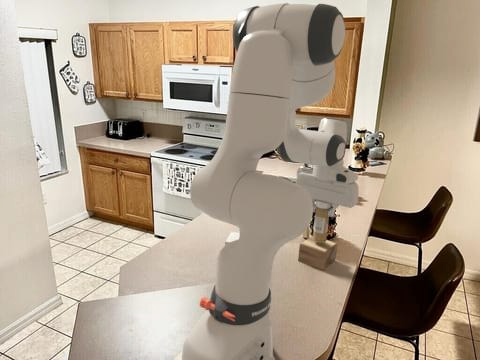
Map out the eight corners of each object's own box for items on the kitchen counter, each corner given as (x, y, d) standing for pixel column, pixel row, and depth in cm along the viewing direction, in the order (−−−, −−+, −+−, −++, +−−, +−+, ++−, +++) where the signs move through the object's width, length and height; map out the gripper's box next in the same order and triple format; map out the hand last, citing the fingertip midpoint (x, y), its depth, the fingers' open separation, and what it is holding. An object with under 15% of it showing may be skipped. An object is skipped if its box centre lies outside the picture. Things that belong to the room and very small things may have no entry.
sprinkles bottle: (329, 241, 116) (334, 201, 112) (319, 244, 113) (324, 203, 110) (319, 236, 120) (323, 197, 116) (309, 238, 117) (313, 199, 114)
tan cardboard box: (323, 270, 112) (325, 252, 111) (298, 260, 118) (299, 243, 116) (335, 260, 119) (337, 243, 118) (310, 251, 125) (312, 235, 123)
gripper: (292, 166, 114) (288, 207, 118) (355, 179, 102) (349, 225, 106) (302, 164, 119) (298, 203, 123) (363, 176, 107) (356, 219, 111)
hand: (322, 213), depth 114 cm, fingers closed on sprinkles bottle, 4 cm apart
